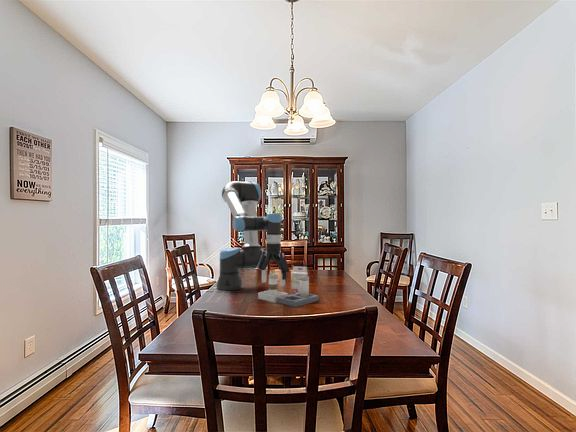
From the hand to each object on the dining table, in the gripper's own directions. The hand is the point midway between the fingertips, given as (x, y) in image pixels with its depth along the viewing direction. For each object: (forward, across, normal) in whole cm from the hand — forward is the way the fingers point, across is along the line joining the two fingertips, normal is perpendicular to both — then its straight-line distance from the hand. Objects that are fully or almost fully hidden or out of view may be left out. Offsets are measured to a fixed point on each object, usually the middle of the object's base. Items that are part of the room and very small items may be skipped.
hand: (273, 284), depth 187 cm
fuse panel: (+8, +13, +5) cm, 16 cm away
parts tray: (+8, 0, 0) cm, 8 cm away
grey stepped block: (+8, +1, +20) cm, 22 cm away
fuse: (+8, +13, +10) cm, 18 cm away
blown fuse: (+7, 0, 0) cm, 7 cm away
